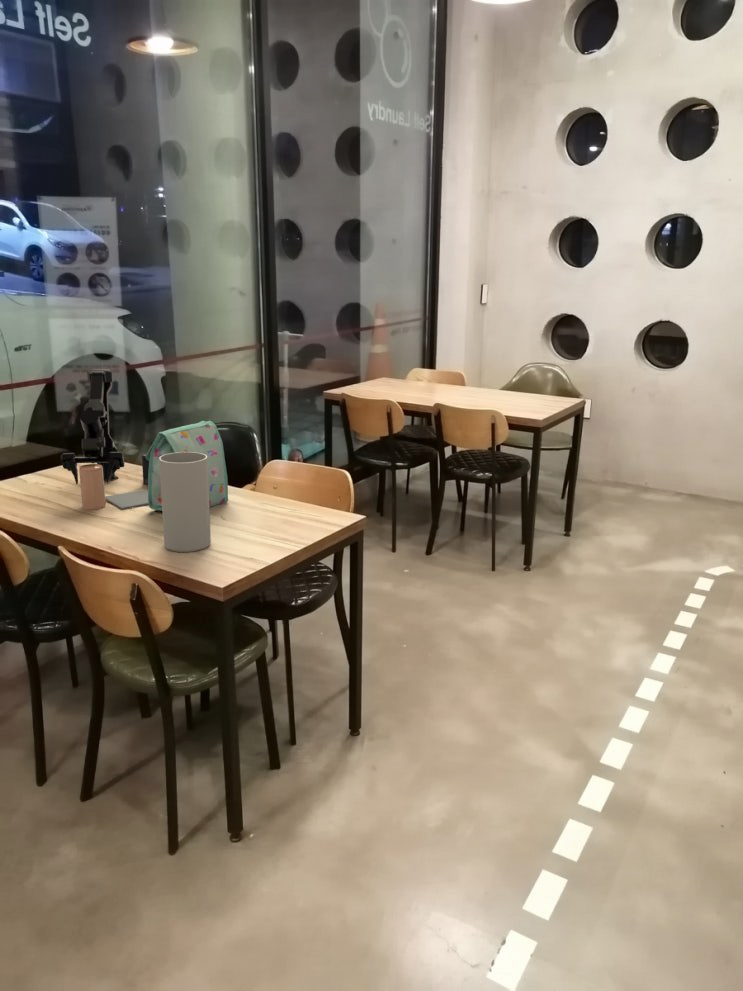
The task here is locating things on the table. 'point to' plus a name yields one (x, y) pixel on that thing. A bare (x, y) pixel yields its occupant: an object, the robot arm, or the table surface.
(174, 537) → the cylinder vase
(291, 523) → the table surface
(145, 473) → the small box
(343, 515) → the table surface
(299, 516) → the table surface
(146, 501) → the slate mat
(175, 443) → the lunch bag
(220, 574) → the table surface
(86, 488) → the terracotta cup
